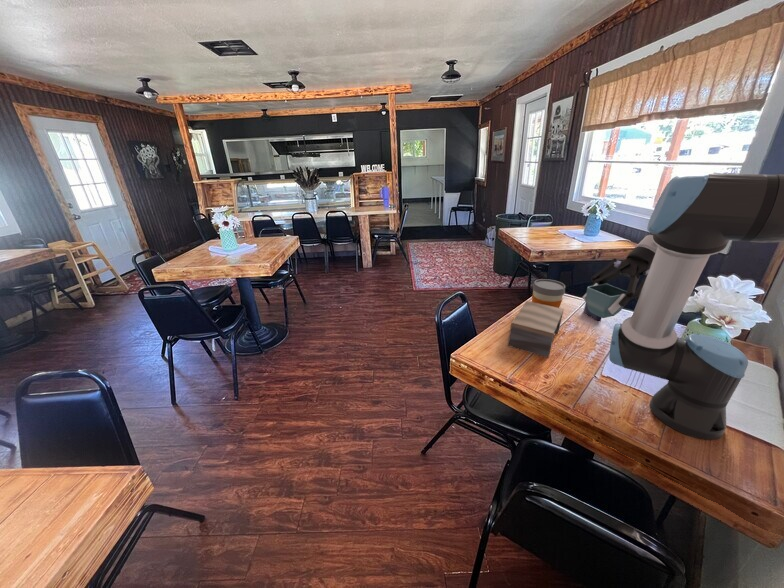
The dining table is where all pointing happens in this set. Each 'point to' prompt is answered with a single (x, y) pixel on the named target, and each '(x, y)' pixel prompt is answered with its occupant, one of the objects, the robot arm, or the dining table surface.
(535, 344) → the grey wooden block
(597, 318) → the flask
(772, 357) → the dining table surface
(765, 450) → the dining table surface
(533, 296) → the reusable coffee cup
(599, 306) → the flower pot
